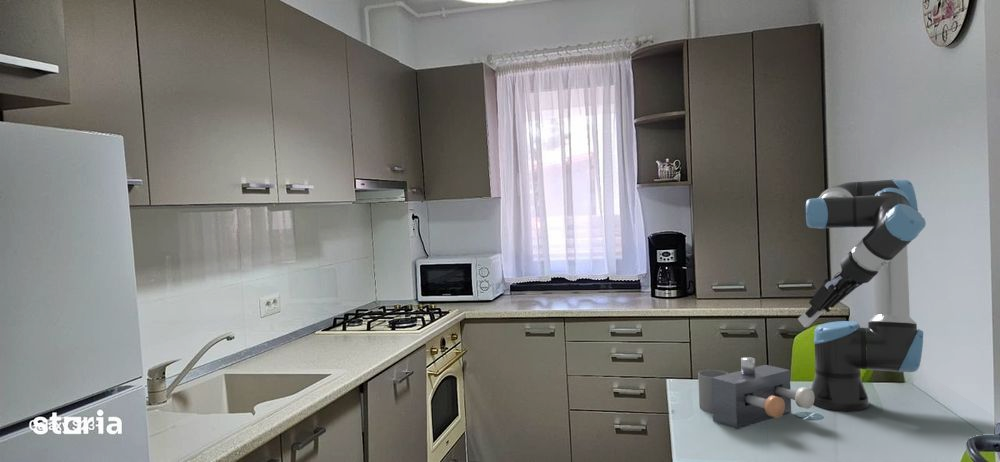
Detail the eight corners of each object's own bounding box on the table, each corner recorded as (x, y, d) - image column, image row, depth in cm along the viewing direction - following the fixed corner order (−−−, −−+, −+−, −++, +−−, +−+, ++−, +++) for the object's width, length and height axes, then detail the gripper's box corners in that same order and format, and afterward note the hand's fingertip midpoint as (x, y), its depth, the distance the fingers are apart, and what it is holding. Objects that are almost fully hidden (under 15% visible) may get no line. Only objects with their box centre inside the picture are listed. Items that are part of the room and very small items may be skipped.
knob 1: (785, 415, 166) (784, 395, 166) (771, 419, 164) (771, 399, 163) (753, 406, 175) (752, 387, 175) (740, 410, 172) (739, 390, 172)
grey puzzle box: (791, 412, 181) (789, 370, 181) (736, 429, 170) (735, 383, 170) (766, 405, 188) (765, 364, 188) (713, 421, 177) (711, 377, 177)
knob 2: (814, 406, 172) (814, 387, 172) (802, 410, 170) (801, 390, 169) (782, 398, 181) (782, 379, 180) (770, 401, 178) (769, 382, 178)
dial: (753, 371, 181) (753, 357, 181) (756, 374, 178) (756, 360, 178) (740, 371, 182) (739, 357, 182) (742, 374, 178) (742, 360, 178)
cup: (731, 412, 184) (730, 377, 184) (701, 412, 186) (699, 377, 185) (727, 403, 192) (726, 369, 192) (698, 403, 194) (697, 369, 193)
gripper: (859, 275, 146) (795, 338, 161) (892, 270, 153) (828, 331, 168) (836, 251, 151) (776, 314, 166) (869, 247, 157) (809, 308, 172)
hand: (802, 322), depth 167 cm, fingers closed
